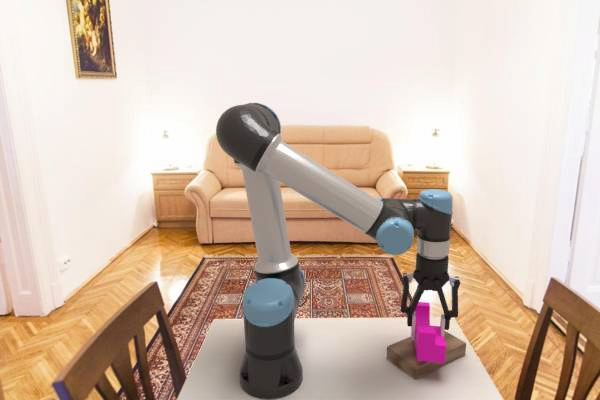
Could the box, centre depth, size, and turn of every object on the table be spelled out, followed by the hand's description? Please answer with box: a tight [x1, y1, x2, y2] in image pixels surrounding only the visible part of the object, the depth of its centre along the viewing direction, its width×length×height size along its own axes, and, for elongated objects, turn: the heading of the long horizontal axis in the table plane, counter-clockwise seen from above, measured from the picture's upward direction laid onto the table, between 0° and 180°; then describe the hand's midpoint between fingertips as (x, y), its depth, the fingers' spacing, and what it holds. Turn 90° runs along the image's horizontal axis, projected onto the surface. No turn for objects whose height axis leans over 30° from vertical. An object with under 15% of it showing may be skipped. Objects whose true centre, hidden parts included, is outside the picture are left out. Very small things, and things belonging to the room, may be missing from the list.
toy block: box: [414, 301, 446, 363], centre depth 109 cm, size 15×6×8 cm, turn 170°
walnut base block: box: [386, 330, 467, 381], centre depth 112 cm, size 10×18×4 cm, turn 122°
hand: (426, 338), depth 111 cm, fingers closed on toy block, 6 cm apart
